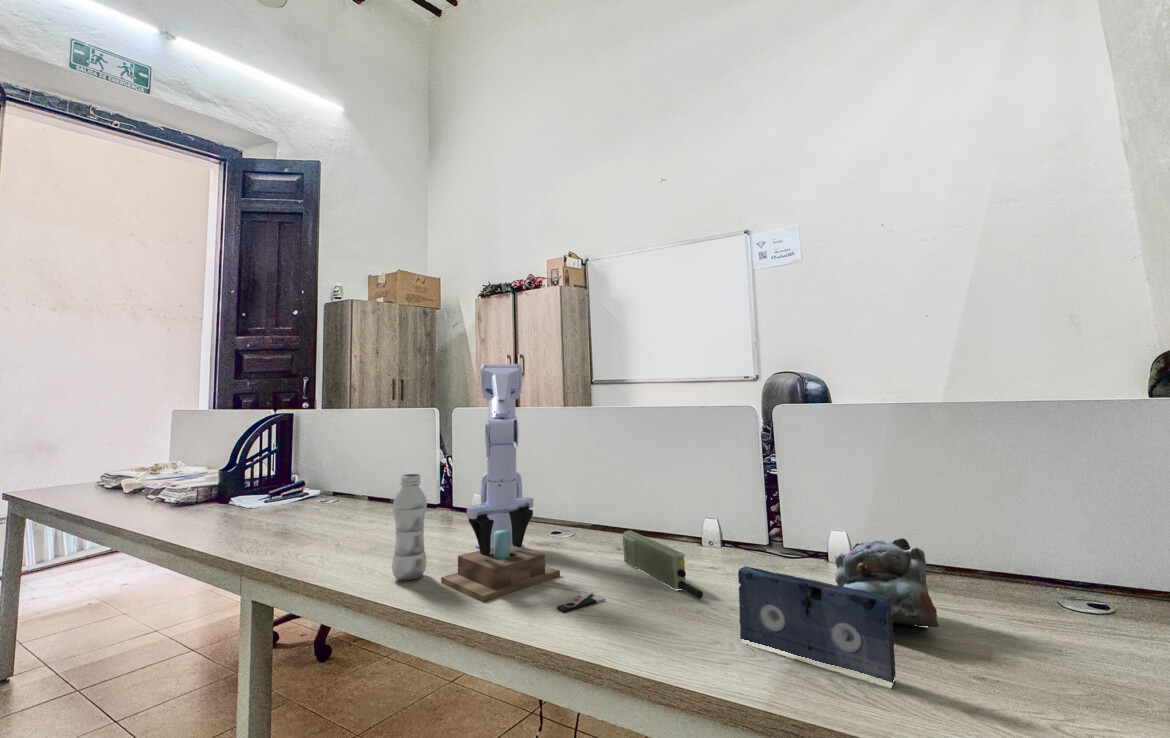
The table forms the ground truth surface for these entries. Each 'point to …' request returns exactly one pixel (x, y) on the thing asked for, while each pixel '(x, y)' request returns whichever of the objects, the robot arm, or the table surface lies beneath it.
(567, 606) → the usb flash drive
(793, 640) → the vhs cassette tape
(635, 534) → the handheld radio
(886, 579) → the lucky cat figurine
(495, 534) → the peg
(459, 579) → the socket board
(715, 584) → the table surface
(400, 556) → the plastic bottle
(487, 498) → the robot arm
